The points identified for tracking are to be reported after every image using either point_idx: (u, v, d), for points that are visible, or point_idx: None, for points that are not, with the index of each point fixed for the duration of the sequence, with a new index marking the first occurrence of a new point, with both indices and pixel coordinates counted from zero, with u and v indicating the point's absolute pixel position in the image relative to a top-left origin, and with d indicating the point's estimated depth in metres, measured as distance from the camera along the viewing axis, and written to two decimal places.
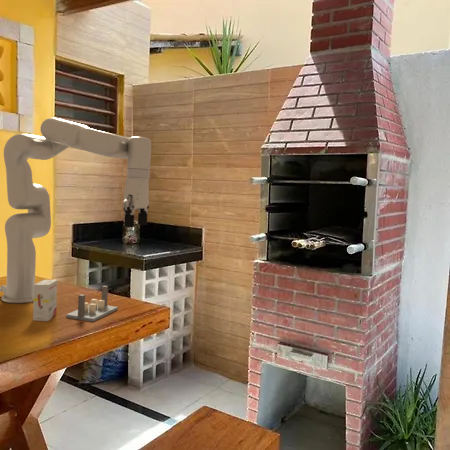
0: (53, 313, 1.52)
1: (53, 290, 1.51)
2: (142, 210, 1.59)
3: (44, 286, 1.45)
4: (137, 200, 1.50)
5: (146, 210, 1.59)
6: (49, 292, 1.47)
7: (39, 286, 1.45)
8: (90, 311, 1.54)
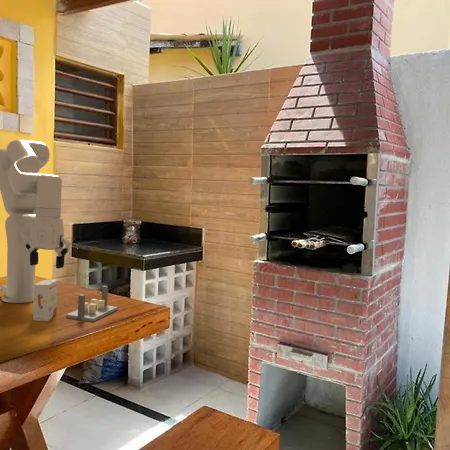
0: (53, 313, 1.52)
1: (53, 290, 1.51)
2: None
3: (44, 286, 1.45)
4: None
5: (37, 248, 1.51)
6: (49, 292, 1.47)
7: (39, 286, 1.45)
8: (90, 311, 1.54)
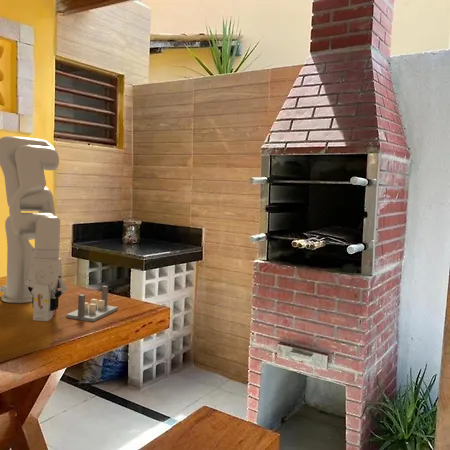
0: (53, 313, 1.52)
1: (54, 290, 1.51)
2: None
3: (44, 286, 1.45)
4: None
5: None
6: (49, 292, 1.47)
7: (39, 286, 1.45)
8: (90, 311, 1.54)
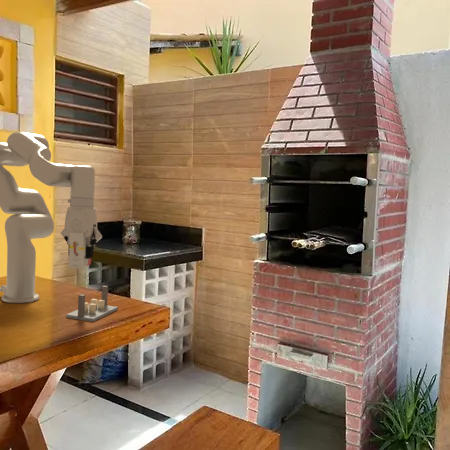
0: (88, 262, 1.55)
1: None
2: None
3: (80, 233, 1.49)
4: None
5: None
6: (84, 240, 1.50)
7: (75, 233, 1.49)
8: (90, 311, 1.54)
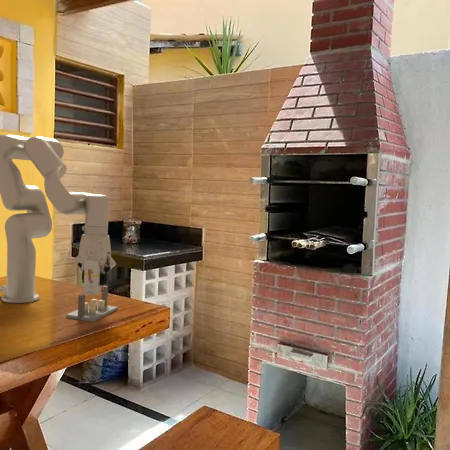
0: (101, 288, 1.58)
1: None
2: None
3: (95, 261, 1.52)
4: None
5: None
6: (99, 267, 1.54)
7: (90, 261, 1.52)
8: (90, 311, 1.54)
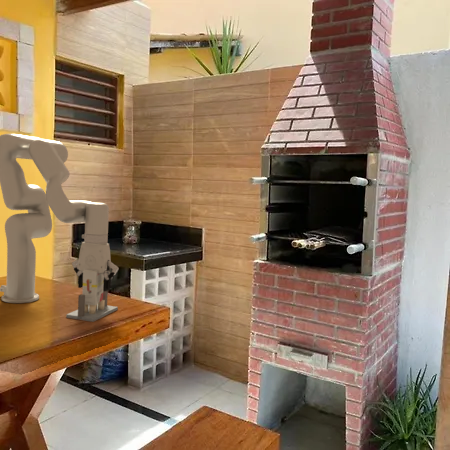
0: (100, 298, 1.59)
1: (101, 276, 1.58)
2: None
3: (93, 271, 1.52)
4: None
5: None
6: (97, 277, 1.54)
7: (88, 271, 1.53)
8: (90, 311, 1.54)
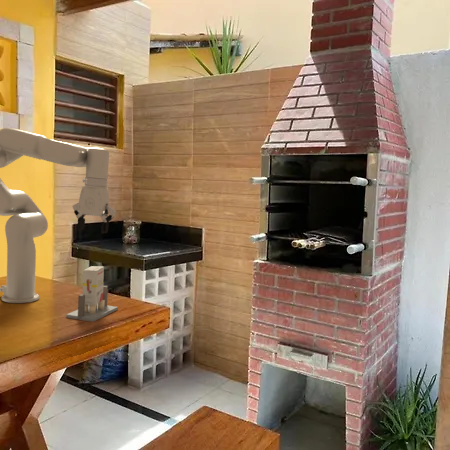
0: (100, 298, 1.59)
1: (101, 276, 1.58)
2: None
3: (93, 271, 1.52)
4: None
5: None
6: (97, 277, 1.54)
7: (88, 271, 1.53)
8: (90, 311, 1.54)
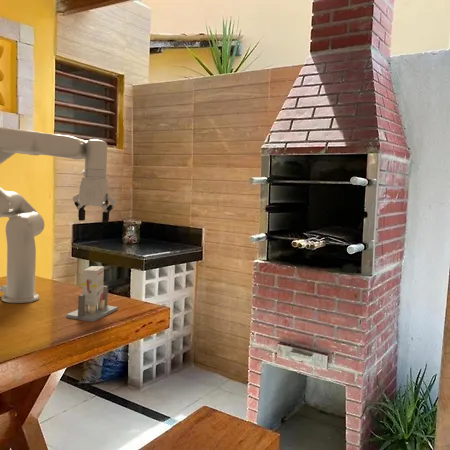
0: (100, 298, 1.59)
1: (101, 276, 1.58)
2: None
3: (93, 271, 1.52)
4: None
5: (84, 206, 1.70)
6: (97, 277, 1.54)
7: (88, 271, 1.53)
8: (90, 311, 1.54)
